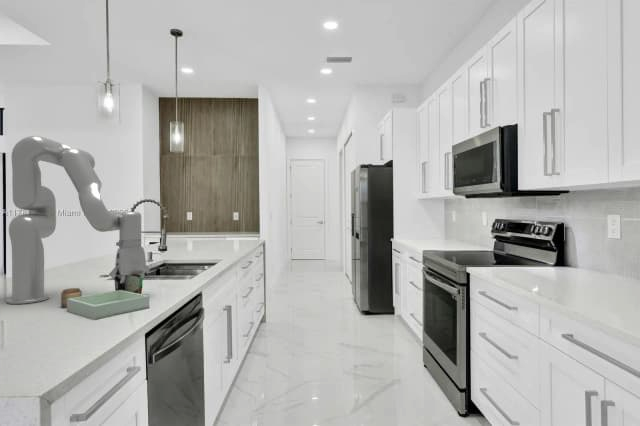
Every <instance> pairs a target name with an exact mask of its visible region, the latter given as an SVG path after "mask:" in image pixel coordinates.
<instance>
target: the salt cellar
mask: <svg viewBox="0 0 640 426" xmlns="http://www.w3.org/2000/svg"><path fill="white" fill-rule="evenodd" d="M82 292H83V291H82V290H80V288H79V287H78V288H77V287H75V288H74V287H72V288H65V289H63V291H61V293H60V308H61V309H67V299H69V298H75V297H81V296H83V294H82Z"/></svg>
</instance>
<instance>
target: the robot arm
mask: <svg viewBox="0 0 640 426" xmlns="http://www.w3.org/2000/svg"><path fill="white" fill-rule="evenodd" d="M10 158H11V159H10V160H11V170H12V171H11V172H12V175H11V176H12V178H11V180H12V202H13V204H14V206H15V207H16V208H18V209H19V210H23V211H28V213H23V214H20V215H19V214H18V215H17V216H15V217H14V218H12V219H11V221H10V223H9V225H8V234H9V239H10V243H11V244H10V245H11V295H12V296H11V297H8V298H7V299H6V303H7V304H9V305H10V304H12V305H21V304H22V305H23V304H24V305H25V304H32V303H38V302H43V301H46V300H49V299H50V294H48V293H45V250H44V249H45V248H44V244H43V240H42V239H45V238H49V237H50V236H52V235H53V233H54V232H55V230H56V226H57V210H56V208H57V204H56V198H55V194H54V192H53V191H52V190H51V189H50V188H48V187H46V186H44V185H42V172H41V168H40V164H39V162H40V161H41V162H46V163H49V164H53V165H57V166H60V167H61V168H62V167H63V169H64V170H65V173H66V174H67V176H68V177H69V179H70V181H71V182H72V184H73V186H74V188H75V190H76V192H77V194H78V195H77V196H78V200H79V204H80V209H81V210H82V213H83V214H84V216H85V218H86V220H87V221H88V222H89V225H90V226H91V227H92V228H93V229H94V230H95V231H98V232H101V233H104V232H113V231H114V232H115V231H119V232H118V233H119V235H118V236H119V237H118V238H119V240H118V242H116V243H115V246H116V247H117V246H118V247H119V248H117V251H116V255H115V256H116V257H115V265H114V268H113V269H112V270H111V271H110V272H109V274H108V275H109V276H110V277H111V278H112V279H113V280H115V281H116V282H117V283H118V290H123V291H125V283H123V282H124V279H125V276H128V275H132V274H140V273H141V272H143V273H144V274H145V277H146V276H147V274H148V273H150V271H151V269H150V267H149V266H148V265H147V260H146V254H145V253H146V252H145V248H144V247H143V246H142V214H141V213H140V212H138V211H123V212H121V211H113V210H112V211H109V210H108V208H107V207H106V206H105V204H104V201H103V200H102V197H101V189H102V186H103V185H102V184H103V183H102V181H101V180H100V178H99V176H98V174H97V173H96V171H95V169H94V168H95V166H96V162H95V158H94V156H93V155H92V154H91V153H90V152H88V151H85V150H82V149H79V148H75V147H72V146H70V145H67V144H64V143H61V142H58V141H55V140H52V139H49V138H46V137H44V136H40V135H39V136H38V135H35V136H34V135H31V136H26V137H24V138H22V139H20V140H19V141H17V142H16V143H15V144H14V147H13V148H12V151H11V157H10ZM116 274H117V275H118V277H117V276H116ZM145 277H144V278H143V281H144V279H145ZM115 281H114V282H115ZM143 283H144V282H143ZM143 283H142V288H143Z"/></svg>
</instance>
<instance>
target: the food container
mask: <svg viewBox="0 0 640 426" xmlns="http://www.w3.org/2000/svg"><path fill="white" fill-rule="evenodd" d="M116 276H117V277H118V275H117V274H116ZM143 278H144V279H145V278H146V276H145V274H144V273H143V272H141V273H140V274H132V275H128V276H125V279H124V282H123V283H125V291H128V292H133V293H137V294H142V292H143V287H142V283H144V280H143ZM113 280H114V279H113ZM114 289H115V290H114V291H117V290H118V283H117V282H116V281H115V280H114Z"/></svg>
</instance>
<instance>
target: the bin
mask: <svg viewBox="0 0 640 426" xmlns="http://www.w3.org/2000/svg"><path fill="white" fill-rule="evenodd" d="M145 309H150V295H146V294H142V293H141V294H137V293H133V292H128V291H123V290H117V291H115V290H112V291H111V290H110V291H107V292H101V293H94V294H91V295H90V294H88V295H82V296H81V297H75V298H69V299H67V308H66V312H69V313H71V314H74V315H75V314H76V315H79V316H82V317H85V318H87V319H88V318H89V319H91V320H94V321H95V320H100V319H104V318H108V317H113V316H117V315H122V314H128V313H131V312H135V311H140V310H145Z"/></svg>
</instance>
